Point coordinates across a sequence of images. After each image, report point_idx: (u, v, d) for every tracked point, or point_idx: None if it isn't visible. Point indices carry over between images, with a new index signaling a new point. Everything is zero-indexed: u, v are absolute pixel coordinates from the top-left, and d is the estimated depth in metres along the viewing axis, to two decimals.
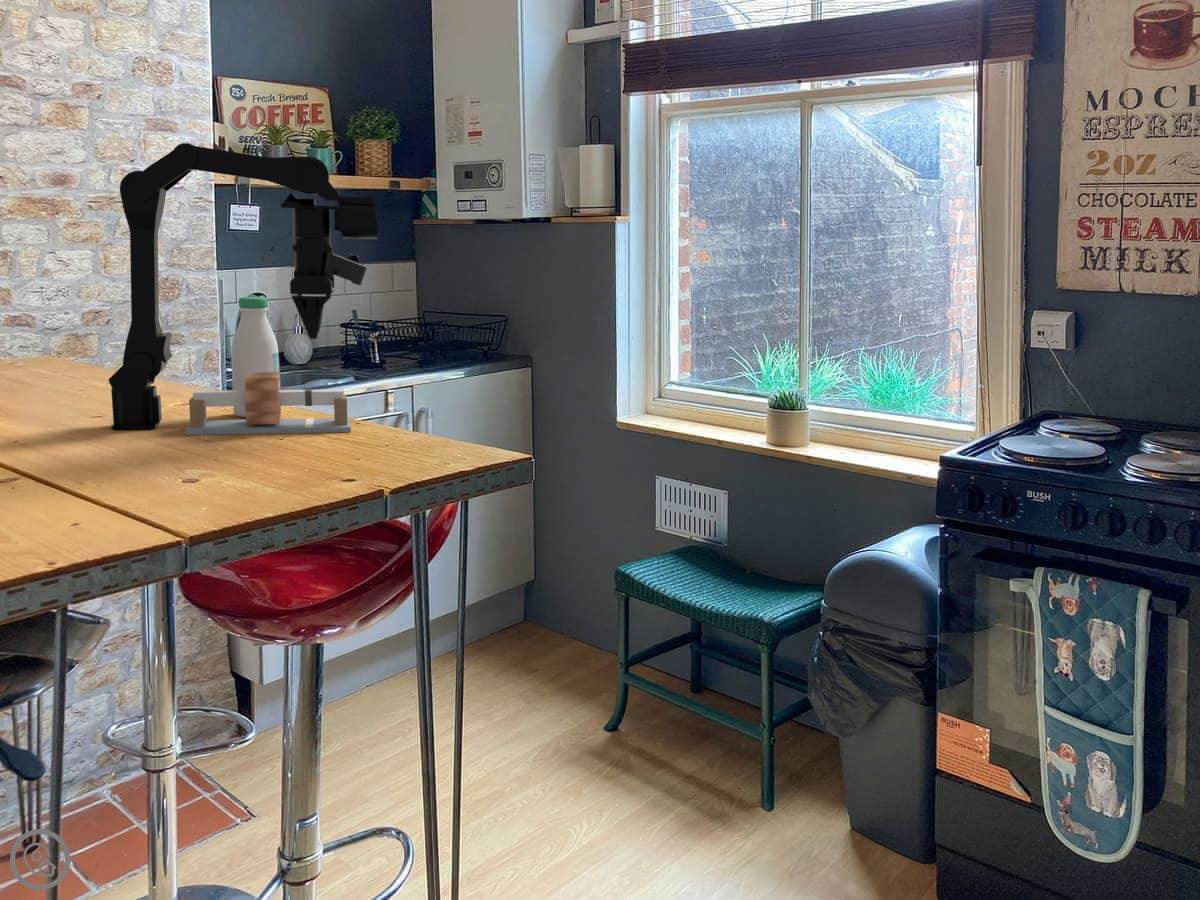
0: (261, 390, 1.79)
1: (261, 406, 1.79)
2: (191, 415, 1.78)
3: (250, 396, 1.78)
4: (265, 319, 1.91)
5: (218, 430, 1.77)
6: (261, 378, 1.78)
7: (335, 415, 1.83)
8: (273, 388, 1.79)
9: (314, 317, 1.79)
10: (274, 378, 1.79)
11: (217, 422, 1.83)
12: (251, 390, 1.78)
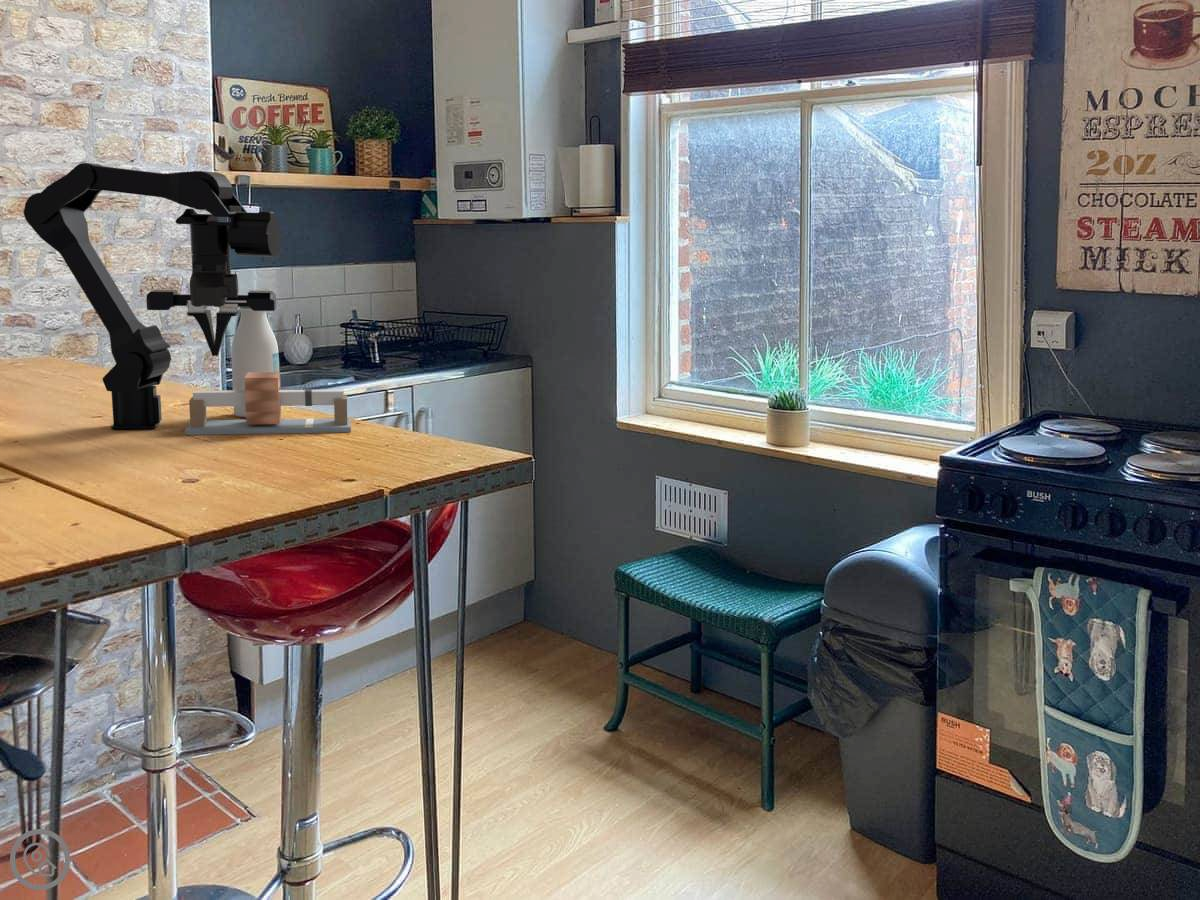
0: (261, 390, 1.79)
1: (261, 406, 1.79)
2: (191, 415, 1.78)
3: (250, 396, 1.78)
4: (265, 319, 1.91)
5: (218, 430, 1.77)
6: (261, 378, 1.78)
7: (335, 415, 1.83)
8: (273, 388, 1.79)
9: None
10: (274, 378, 1.79)
11: (217, 422, 1.83)
12: (251, 390, 1.78)
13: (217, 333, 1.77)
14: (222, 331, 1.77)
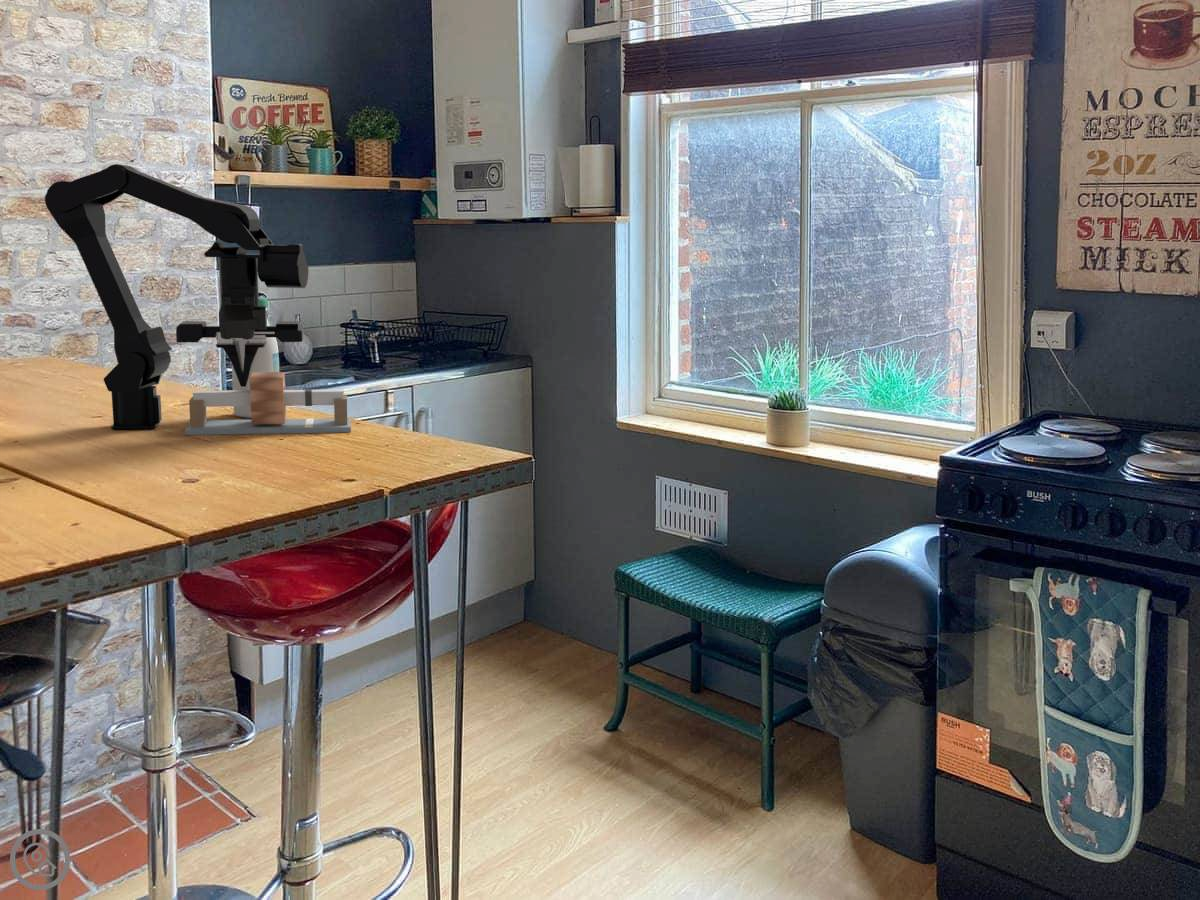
0: (266, 390, 1.79)
1: (266, 406, 1.79)
2: (191, 415, 1.78)
3: (255, 396, 1.79)
4: None
5: (218, 430, 1.77)
6: (266, 378, 1.78)
7: (335, 415, 1.83)
8: (278, 388, 1.79)
9: None
10: (279, 378, 1.79)
11: (217, 422, 1.83)
12: (256, 390, 1.78)
13: (245, 364, 1.79)
14: (250, 362, 1.79)
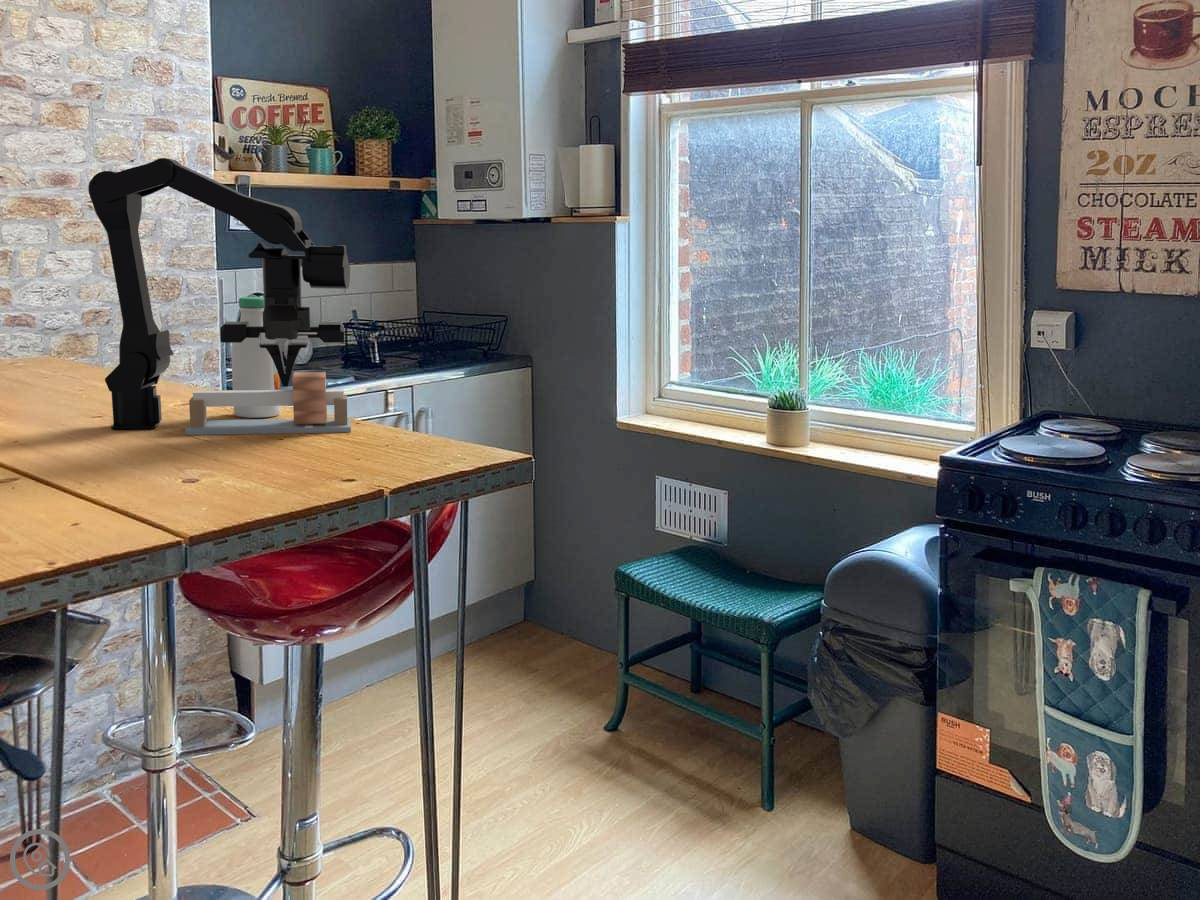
0: (308, 390, 1.80)
1: (308, 405, 1.81)
2: (191, 415, 1.78)
3: (297, 396, 1.80)
4: None
5: (218, 430, 1.77)
6: (309, 378, 1.80)
7: (335, 415, 1.83)
8: (320, 388, 1.80)
9: None
10: (321, 378, 1.80)
11: (217, 422, 1.83)
12: (299, 390, 1.80)
13: (288, 364, 1.80)
14: (292, 362, 1.80)
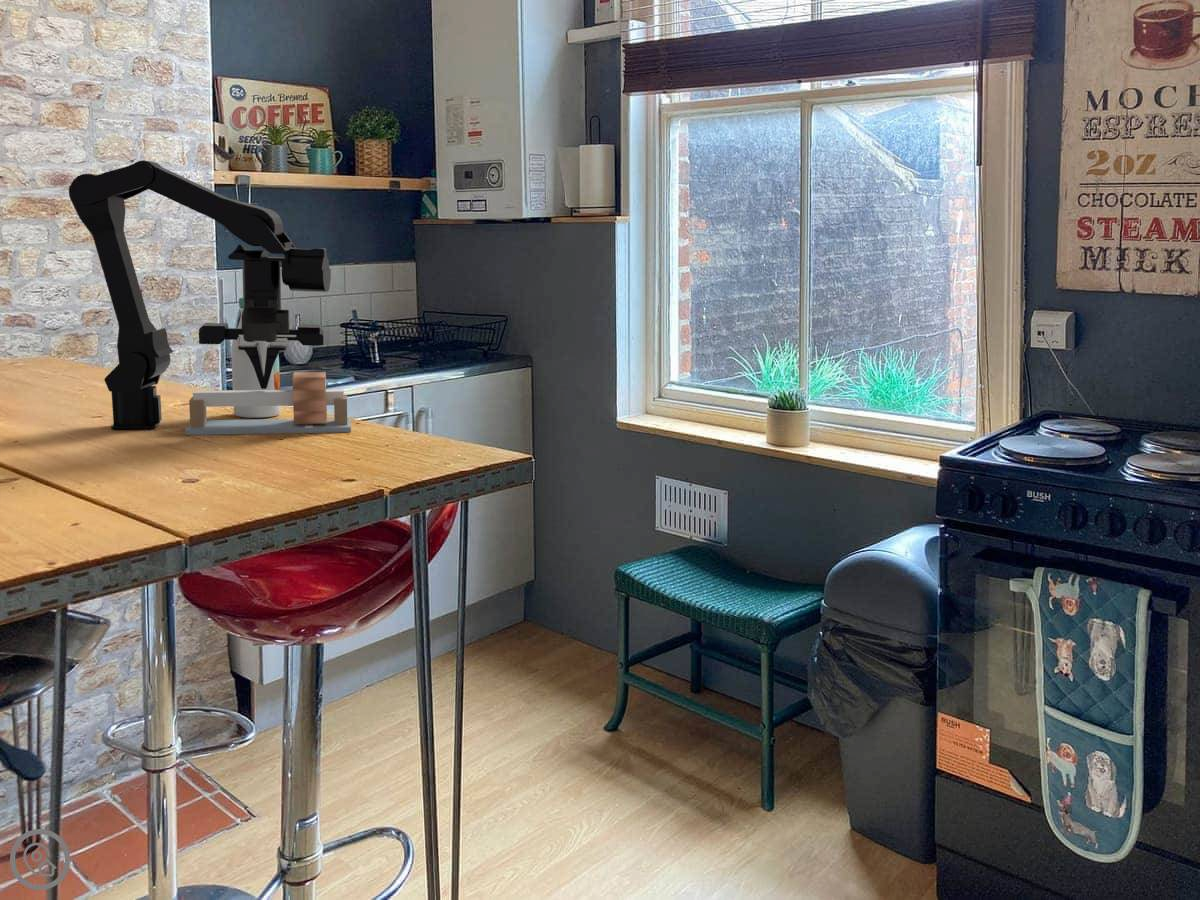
0: (308, 390, 1.80)
1: (308, 405, 1.81)
2: (191, 415, 1.78)
3: (297, 396, 1.80)
4: None
5: (218, 430, 1.77)
6: (309, 378, 1.80)
7: (335, 415, 1.83)
8: (320, 388, 1.80)
9: None
10: (321, 378, 1.80)
11: (217, 422, 1.83)
12: (299, 390, 1.80)
13: (266, 367, 1.80)
14: (271, 365, 1.80)
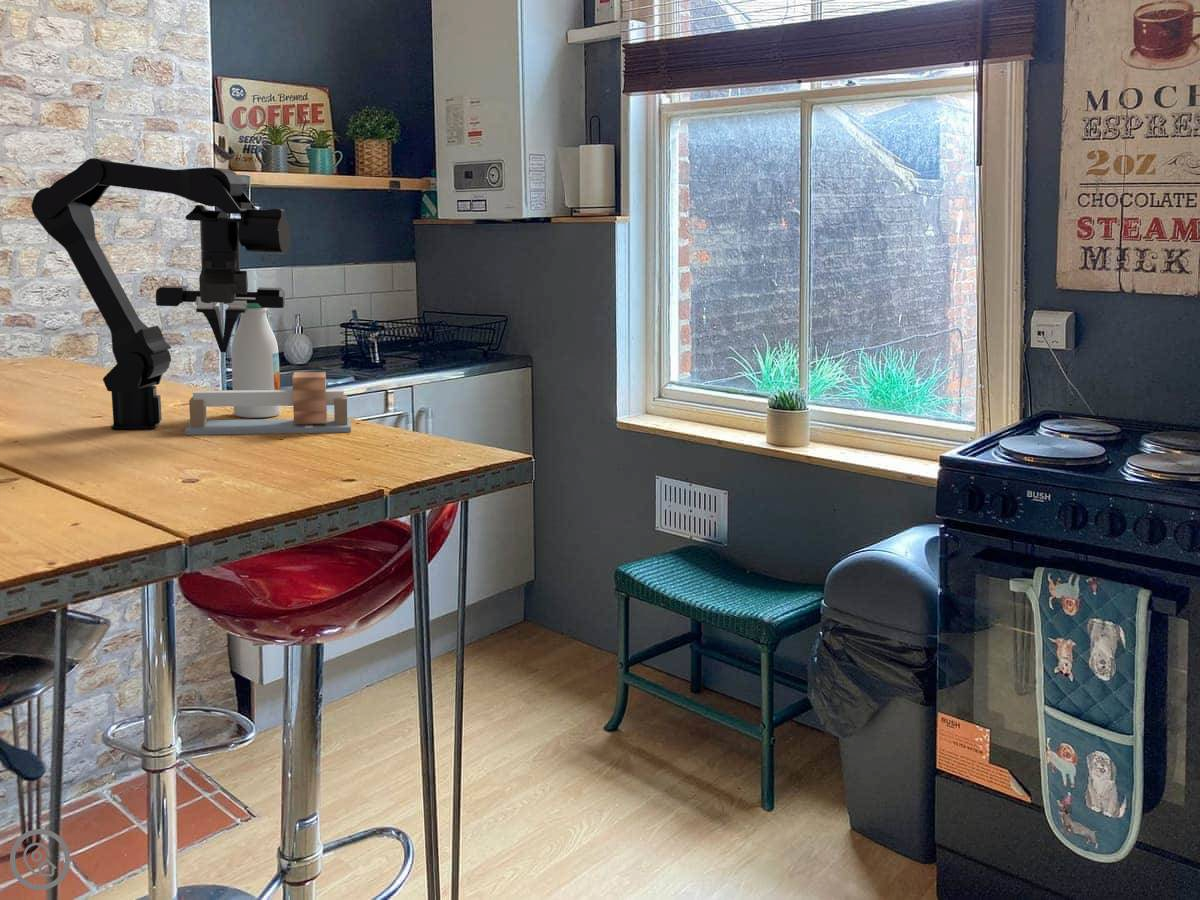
0: (308, 390, 1.80)
1: (308, 405, 1.81)
2: (191, 415, 1.78)
3: (297, 396, 1.80)
4: (265, 319, 1.91)
5: (218, 430, 1.77)
6: (309, 378, 1.80)
7: (335, 415, 1.83)
8: (320, 388, 1.80)
9: None
10: (321, 378, 1.80)
11: (217, 422, 1.83)
12: (299, 390, 1.80)
13: (226, 329, 1.77)
14: (231, 328, 1.77)
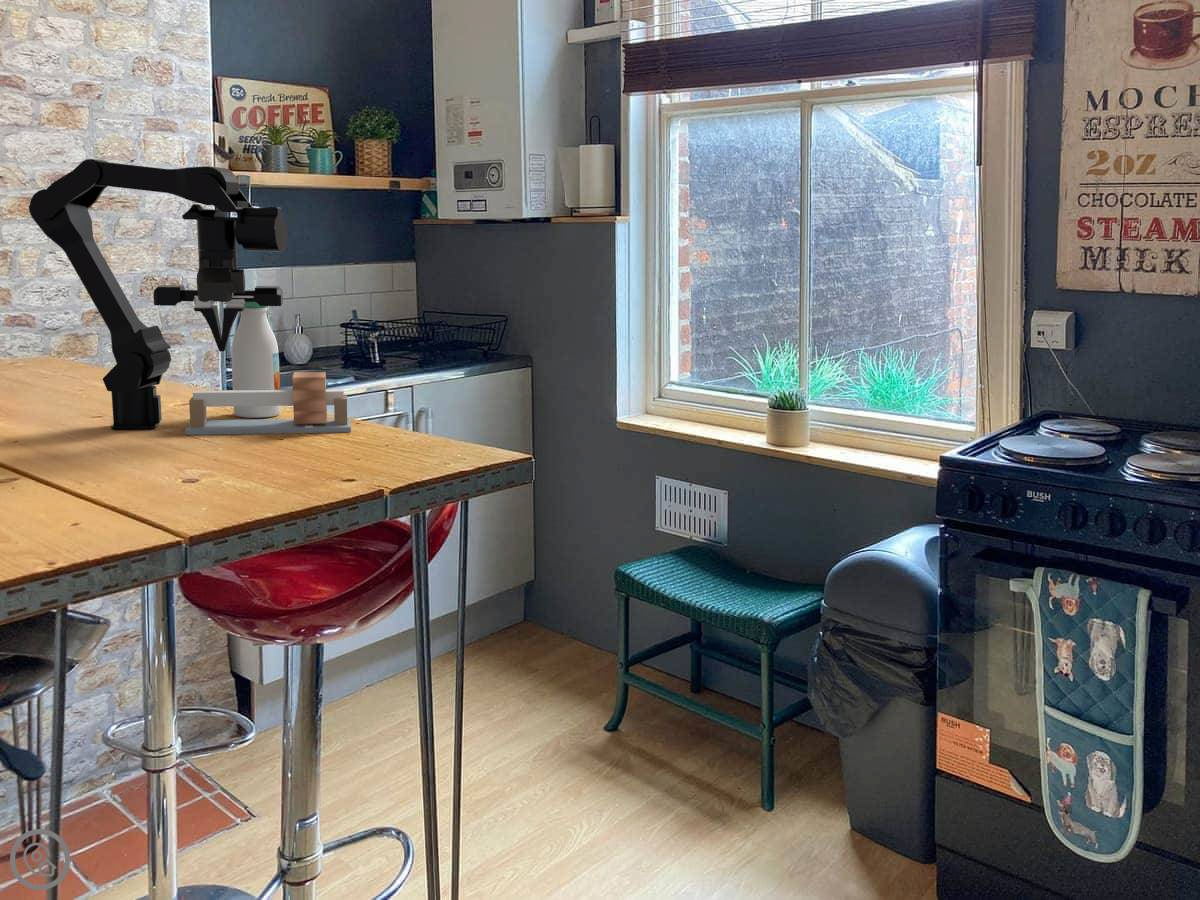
0: (308, 390, 1.80)
1: (308, 405, 1.81)
2: (191, 415, 1.78)
3: (297, 396, 1.80)
4: (265, 319, 1.91)
5: (218, 430, 1.77)
6: (309, 378, 1.80)
7: (335, 415, 1.83)
8: (320, 388, 1.80)
9: None
10: (321, 378, 1.80)
11: (217, 422, 1.83)
12: (299, 390, 1.80)
13: (224, 328, 1.77)
14: (229, 326, 1.77)
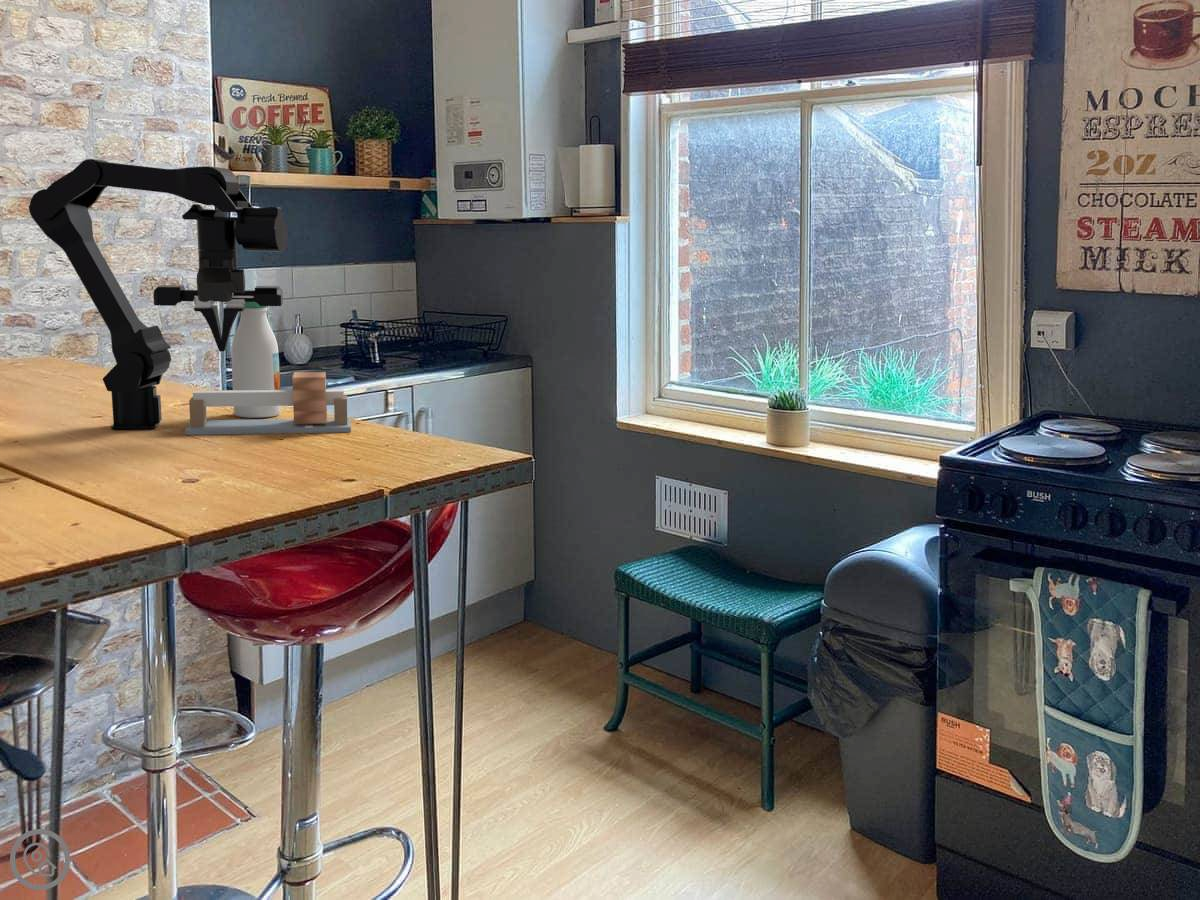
0: (308, 390, 1.80)
1: (308, 405, 1.81)
2: (191, 415, 1.78)
3: (297, 396, 1.80)
4: (265, 319, 1.91)
5: (218, 430, 1.77)
6: (309, 378, 1.80)
7: (335, 415, 1.83)
8: (320, 388, 1.80)
9: None
10: (321, 378, 1.80)
11: (217, 422, 1.83)
12: (299, 390, 1.80)
13: (224, 328, 1.77)
14: (229, 326, 1.77)
